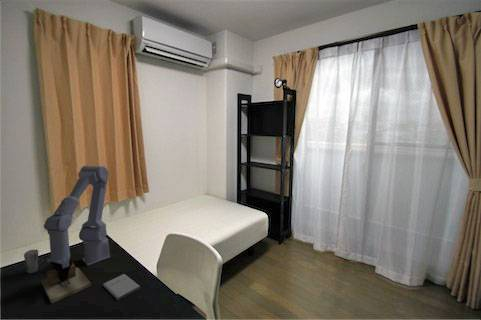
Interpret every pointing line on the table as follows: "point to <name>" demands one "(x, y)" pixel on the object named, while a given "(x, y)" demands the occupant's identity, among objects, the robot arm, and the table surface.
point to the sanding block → (54, 277)
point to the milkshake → (31, 260)
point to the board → (66, 286)
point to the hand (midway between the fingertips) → (62, 277)
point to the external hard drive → (121, 286)
